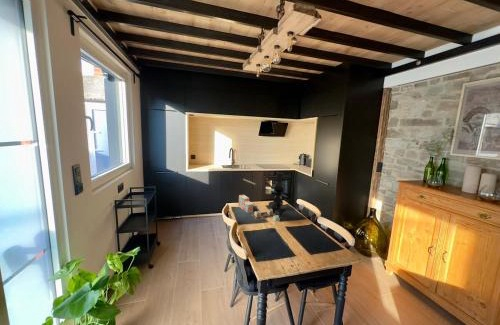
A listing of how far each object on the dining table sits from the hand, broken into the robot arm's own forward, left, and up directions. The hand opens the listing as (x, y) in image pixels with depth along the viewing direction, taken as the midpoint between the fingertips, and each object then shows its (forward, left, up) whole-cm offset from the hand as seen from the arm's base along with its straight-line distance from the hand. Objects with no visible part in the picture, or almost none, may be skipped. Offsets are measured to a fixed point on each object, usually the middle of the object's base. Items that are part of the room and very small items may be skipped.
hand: (276, 215), depth 181 cm
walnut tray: (+6, -12, -5) cm, 14 cm away
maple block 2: (-1, -12, -4) cm, 13 cm away
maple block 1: (+13, -12, -4) cm, 18 cm away
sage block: (0, 0, -5) cm, 5 cm away
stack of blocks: (+15, -34, -6) cm, 37 cm away
